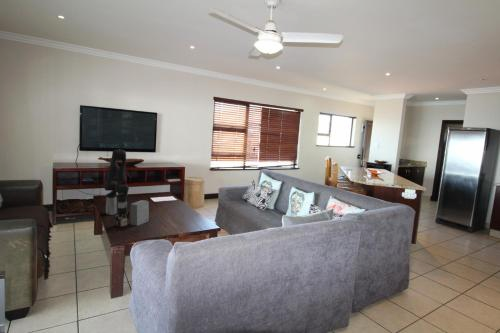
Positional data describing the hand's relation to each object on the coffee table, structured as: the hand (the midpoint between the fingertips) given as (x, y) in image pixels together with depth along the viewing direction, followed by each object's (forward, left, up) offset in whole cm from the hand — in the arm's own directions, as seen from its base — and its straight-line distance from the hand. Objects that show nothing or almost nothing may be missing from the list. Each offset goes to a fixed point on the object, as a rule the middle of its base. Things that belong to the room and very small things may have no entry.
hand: (122, 224), depth 260 cm
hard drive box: (+8, +13, -1) cm, 15 cm away
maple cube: (0, 0, -1) cm, 1 cm away
